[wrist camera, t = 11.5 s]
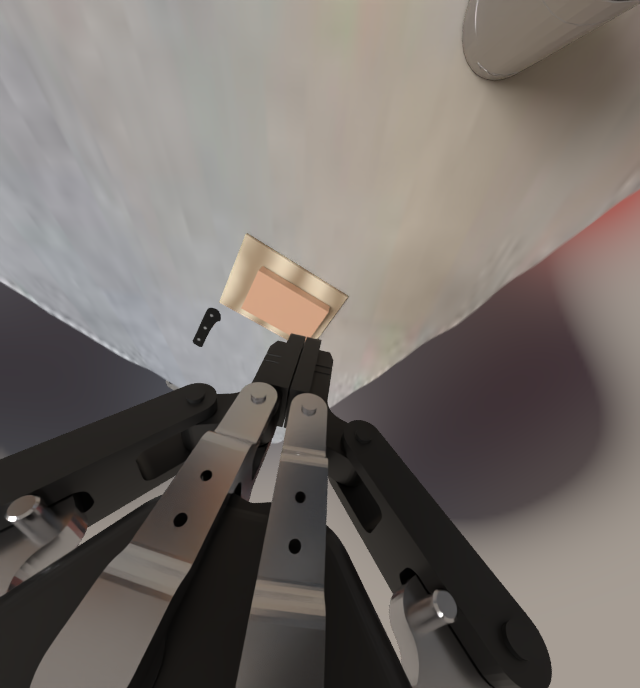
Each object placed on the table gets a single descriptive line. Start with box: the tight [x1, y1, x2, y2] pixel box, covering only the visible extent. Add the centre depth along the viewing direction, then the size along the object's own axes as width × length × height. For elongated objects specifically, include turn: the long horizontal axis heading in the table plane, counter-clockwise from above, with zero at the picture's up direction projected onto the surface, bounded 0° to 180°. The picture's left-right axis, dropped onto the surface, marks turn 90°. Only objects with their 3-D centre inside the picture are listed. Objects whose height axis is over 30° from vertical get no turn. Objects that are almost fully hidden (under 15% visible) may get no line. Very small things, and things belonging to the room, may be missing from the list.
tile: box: [241, 266, 330, 341], centre depth 46 cm, size 2×8×13 cm
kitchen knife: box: [166, 308, 221, 390], centre depth 59 cm, size 29×1×10 cm
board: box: [220, 233, 348, 340], centre depth 47 cm, size 19×14×1 cm
